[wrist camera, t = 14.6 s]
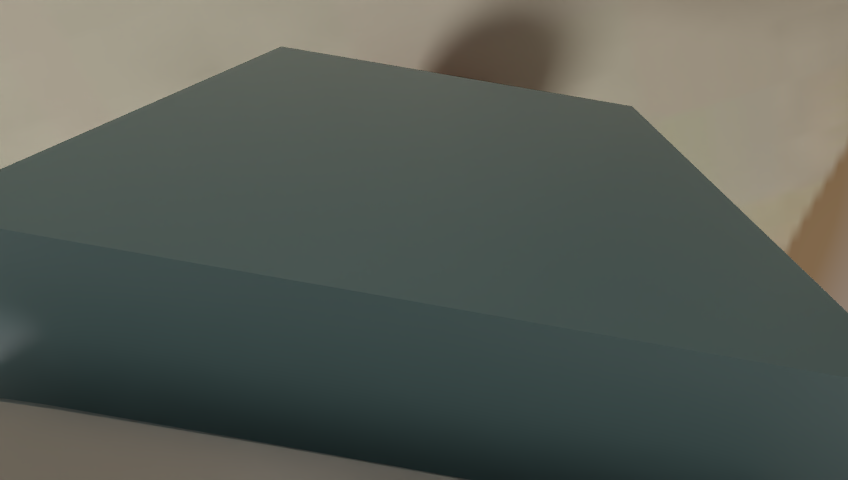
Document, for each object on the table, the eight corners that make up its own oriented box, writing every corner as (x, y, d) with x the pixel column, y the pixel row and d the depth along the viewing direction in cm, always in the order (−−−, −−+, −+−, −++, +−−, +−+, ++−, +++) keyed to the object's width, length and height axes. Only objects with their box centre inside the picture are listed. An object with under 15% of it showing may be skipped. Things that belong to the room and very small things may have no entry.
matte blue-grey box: (632, 106, 12) (931, 392, 4) (543, 377, 15) (610, 808, 8) (281, 46, 12) (-97, 211, 4) (274, 329, 15) (64, 706, 8)
